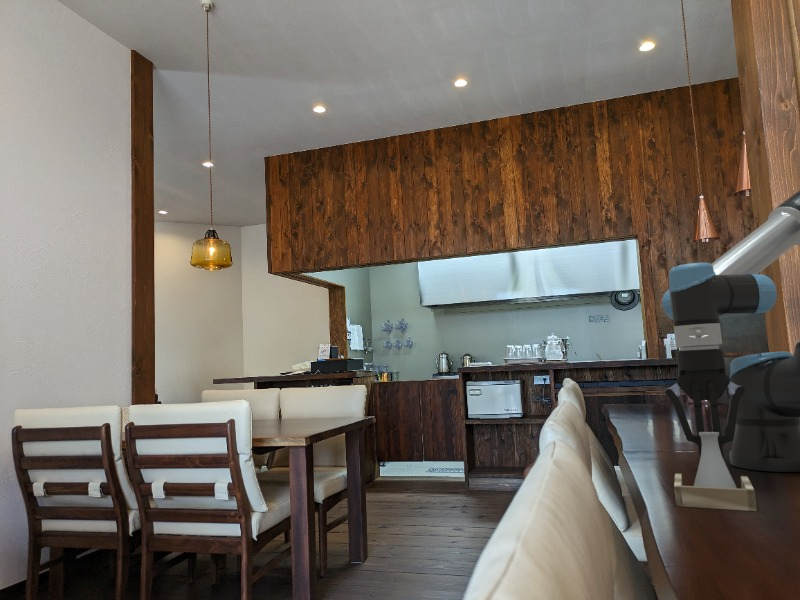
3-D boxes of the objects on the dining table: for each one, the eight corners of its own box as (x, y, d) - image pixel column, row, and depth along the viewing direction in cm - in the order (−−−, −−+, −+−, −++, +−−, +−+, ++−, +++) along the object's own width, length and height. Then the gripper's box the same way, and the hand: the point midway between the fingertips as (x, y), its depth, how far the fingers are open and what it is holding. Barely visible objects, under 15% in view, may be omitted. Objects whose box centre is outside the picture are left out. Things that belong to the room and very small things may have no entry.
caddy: (676, 490, 102) (675, 473, 102) (749, 494, 97) (747, 476, 97) (675, 506, 91) (674, 486, 92) (756, 511, 87) (754, 490, 87)
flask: (748, 496, 92) (740, 431, 95) (699, 494, 93) (693, 431, 96) (730, 493, 99) (723, 433, 101) (685, 491, 100) (679, 432, 103)
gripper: (659, 350, 104) (673, 485, 101) (742, 346, 99) (760, 488, 96) (660, 350, 111) (673, 477, 108) (738, 346, 105) (754, 479, 103)
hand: (714, 482), depth 102 cm, fingers closed
